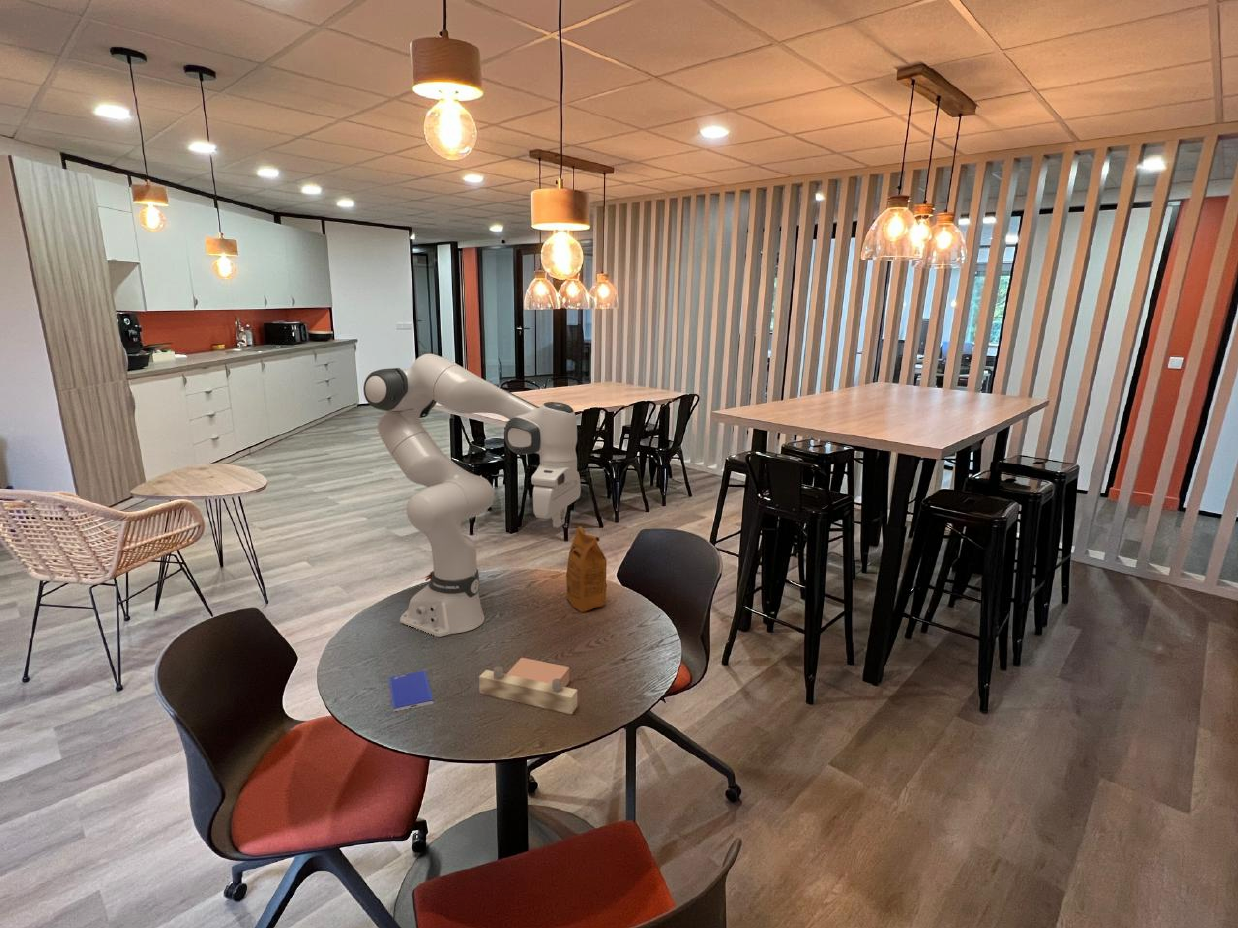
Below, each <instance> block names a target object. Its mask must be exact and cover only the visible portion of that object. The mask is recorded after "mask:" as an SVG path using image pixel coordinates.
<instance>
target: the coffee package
mask: <svg viewBox="0 0 1238 928" xmlns="http://www.w3.org/2000/svg"><path fill="white" fill-rule="evenodd" d="M598 542H600V537H598V536H595V535H590V534H586V532H585V528H583V526H578V527H577V530H576V532H575V535H574V537H573V540H572V544H571V545H570V549H569V552H568V557H567V565H566V574H565V577H566V579H565V580H566V600H568V602H569V603H570V605H571V606H572V608H574V609H576V610H578V611H579V612H582V613H584V612H587V611H589V610H592V609H594V608H601V607H603V606H606V602H607V601H606V600H607V597H606V596H607V586H608V584H607V563H608V562H607V558H606V556H605V553H603V551H602V549H601V548H600V547H599V545H598V544H599V543H598Z"/></svg>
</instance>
